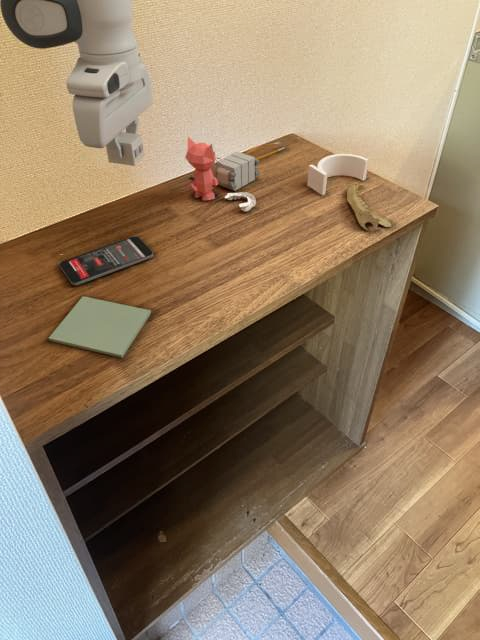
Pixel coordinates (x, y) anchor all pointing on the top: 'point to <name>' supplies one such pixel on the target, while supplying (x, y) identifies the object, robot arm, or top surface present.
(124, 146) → the block
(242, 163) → the electrical component
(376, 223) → the mandible
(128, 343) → the desk mat
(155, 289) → the top surface
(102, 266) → the smartphone
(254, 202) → the dentures
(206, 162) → the cat figurine
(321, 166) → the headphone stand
